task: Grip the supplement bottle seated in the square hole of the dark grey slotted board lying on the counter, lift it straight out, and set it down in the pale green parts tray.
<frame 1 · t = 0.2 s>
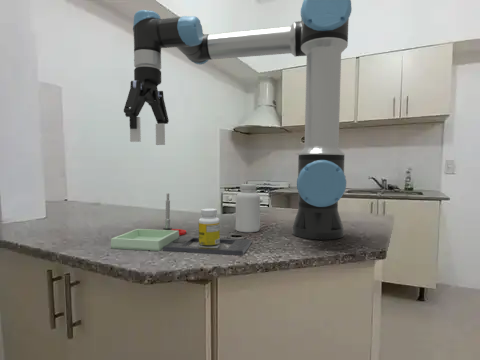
hand: (148, 143, 93), 27 cm above the worktop, fingers open, 13 cm apart
dark grey slotted board: (209, 246, 83), on the worktop
parts tray: (147, 243, 86), on the worktop
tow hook: (171, 234, 99), on the worktop
pill bottle: (247, 231, 104), on the worktop
supplement bottle: (209, 247, 83), resting in dark grey slotted board
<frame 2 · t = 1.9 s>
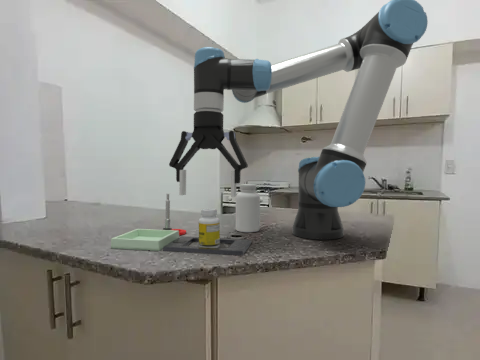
hand: (207, 195, 82), 13 cm above the worktop, fingers open, 13 cm apart
nothing on the worktop moved.
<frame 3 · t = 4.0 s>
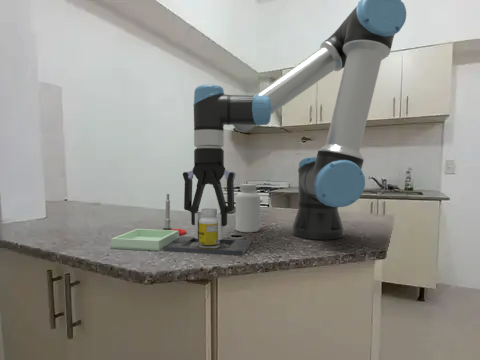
hand: (209, 237, 83), 2 cm above the worktop, fingers closed on supplement bottle, 5 cm apart
supplement bottle: (209, 247, 83), resting in dark grey slotted board, touching gripper
everything else where it was.
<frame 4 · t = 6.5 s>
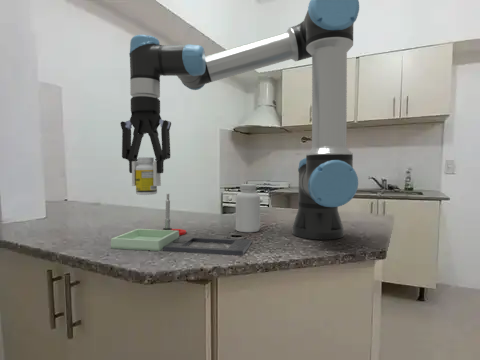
hand: (146, 185, 86), 16 cm above the worktop, fingers closed on supplement bottle, 5 cm apart
supplement bottle: (146, 194, 86), point 13 cm above the worktop, touching gripper
everything else where it was.
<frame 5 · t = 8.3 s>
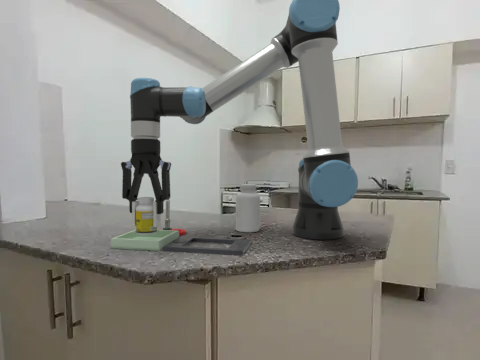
hand: (146, 225, 86), 5 cm above the worktop, fingers closed on supplement bottle, 5 cm apart
supplement bottle: (146, 234, 86), point 2 cm above the worktop, touching gripper
everything else where it was.
when the fingers open (3 cm above the worktop, at t = 9.4 s): supplement bottle stays where it is, resting on parts tray.
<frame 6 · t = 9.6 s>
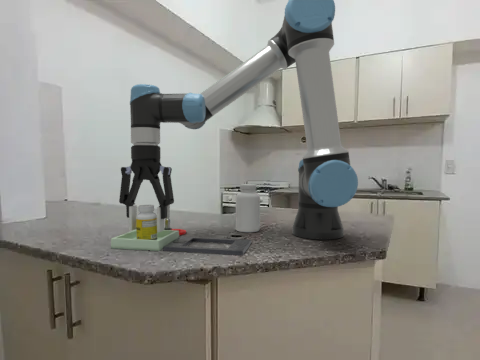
hand: (146, 230, 86), 4 cm above the worktop, fingers open, 7 cm apart
supplement bottle: (147, 242, 86), resting on parts tray
everything else where it was.
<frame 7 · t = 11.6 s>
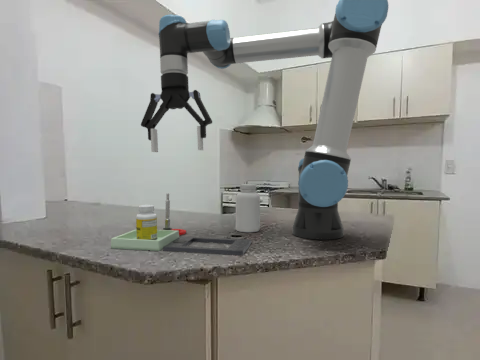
hand: (177, 151, 90), 25 cm above the worktop, fingers open, 13 cm apart
nothing on the worktop moved.
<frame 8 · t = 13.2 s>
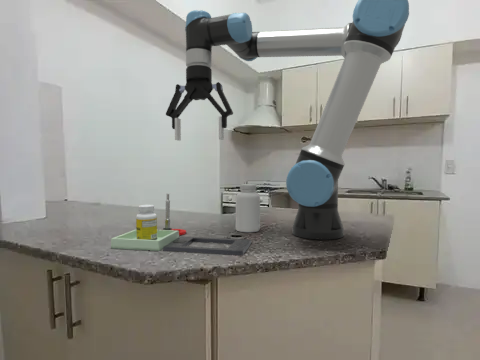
hand: (199, 139, 96), 29 cm above the worktop, fingers open, 13 cm apart
nothing on the worktop moved.
at the end: supplement bottle inside the target area on the parts tray (0.0 cm from its centre), point 0.3 cm above the parts tray's base; supplement bottle tilted 0°; the gripper is holding nothing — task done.
